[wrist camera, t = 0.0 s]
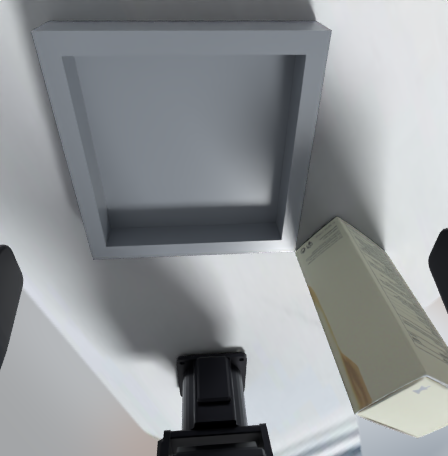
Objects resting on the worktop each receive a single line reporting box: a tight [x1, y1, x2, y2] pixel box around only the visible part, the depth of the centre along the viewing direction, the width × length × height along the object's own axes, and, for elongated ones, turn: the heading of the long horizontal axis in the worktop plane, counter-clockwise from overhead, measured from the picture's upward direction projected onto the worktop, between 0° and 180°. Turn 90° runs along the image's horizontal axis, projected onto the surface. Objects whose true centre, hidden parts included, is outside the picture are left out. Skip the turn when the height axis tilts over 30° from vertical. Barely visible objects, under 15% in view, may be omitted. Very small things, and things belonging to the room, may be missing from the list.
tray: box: [31, 21, 332, 260], centre depth 21 cm, size 13×13×2 cm
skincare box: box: [295, 217, 448, 438], centre depth 23 cm, size 6×4×12 cm
